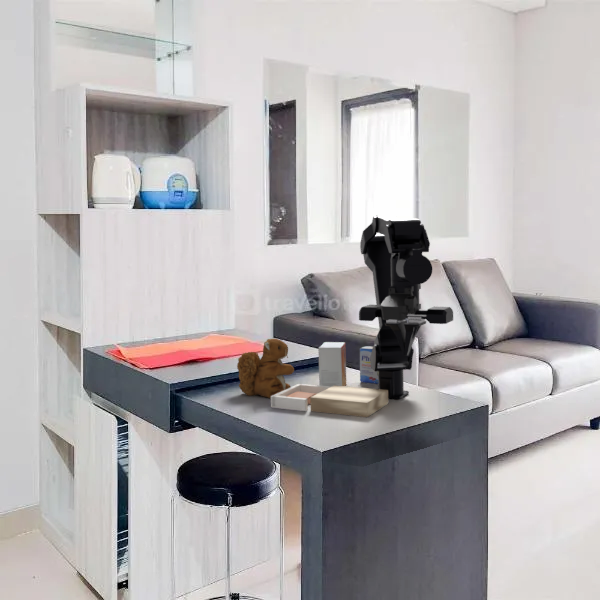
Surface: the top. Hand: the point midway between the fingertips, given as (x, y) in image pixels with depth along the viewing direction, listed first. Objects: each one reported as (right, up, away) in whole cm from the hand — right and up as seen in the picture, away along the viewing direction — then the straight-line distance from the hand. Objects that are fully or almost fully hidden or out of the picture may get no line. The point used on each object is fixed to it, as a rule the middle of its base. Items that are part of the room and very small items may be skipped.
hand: (405, 355), depth 151 cm
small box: (-14, -10, +26) cm, 31 cm away
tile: (-22, -10, +12) cm, 27 cm away
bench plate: (-11, -12, +6) cm, 17 cm away
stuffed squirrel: (-30, -11, +21) cm, 38 cm away
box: (-21, -11, +11) cm, 26 cm away
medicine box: (-3, -9, +30) cm, 31 cm away
